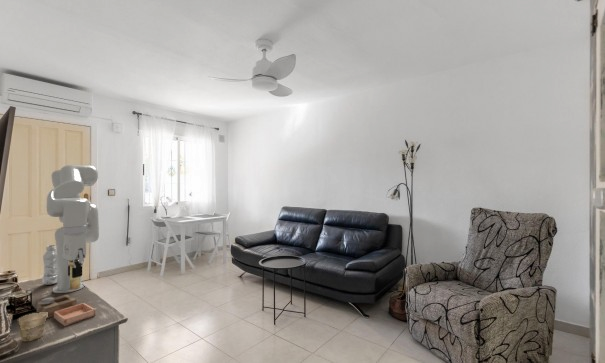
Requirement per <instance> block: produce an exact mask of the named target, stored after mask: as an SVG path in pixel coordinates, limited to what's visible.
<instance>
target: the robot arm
mask: <svg viewBox="0 0 605 363" xmlns="http://www.w3.org/2000/svg"><path fill="white" fill-rule="evenodd" d="M98 179H99V172H98V169H97V168H96V167H95V166H94V165H83V164H82V165H78V164H69V165H64V166H62V167H61V168H60V169H57V170H53V172H52V173H51V183H52V186H53V188H52V189H51V190H50V191H49V192H48V194H47V196H46V213H47V215H48V216H50V217H52V218H57V217H58V219H59V222H61V223H62V226H61V227H58V228H57V229H56V230H55V232H54V240H55V245H56V251H57V283H56V286H55V287H53V288H52V292H53V293H54V294H68V293H73V292H76V291H79V290H81V289H84V288H85V287H86V282H84V281H82V276H83V266H84V265H83V264H84V262H85V258H86V257H87V244H88V243H89V244H90V243H95V242H97V241H98V240H99V237H100V226H99V225H100V224H99V223H100V222H99V221H100V220H99V211H98V207H97V206H96V204H94V203H93V204H92V203H91V201H90V200H89V199H88V198H86V197H81V196H80V194H81V193H83V192H84V190H85V187H92V186H94V185H95V184H96V183H97V182H98ZM69 261H73V268H72V278H76V277H80V288H79V289H75V290H70V265H68V262H69ZM76 261H77V262H76ZM82 284H83V285H84V286H85V287H84V286H83V285H82Z"/></svg>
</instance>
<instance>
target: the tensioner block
mask: <svg viewBox="0 0 605 363" xmlns="http://www.w3.org/2000/svg"><path fill="white" fill-rule="evenodd" d="M75 305H77V299H76V298H74V297H73V296H71V295H69V294H68V293H65V294H64V295H60V296H56V297H53V296H52V297H51V296H50V297H45V298H43V299H41V300H40V301H37V304H36V306H37V307H36V309H37V310H36V312H37V313H38V312H48V317H47V318H46V319H49V318H52V317H53V318H54V312H55V311H58V310H62V309H65V308H68V307H71V306H75Z"/></svg>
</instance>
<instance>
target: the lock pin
mask: <svg viewBox="0 0 605 363" xmlns="http://www.w3.org/2000/svg"><path fill="white" fill-rule="evenodd" d="M76 262H77V261H76ZM68 265H70V290H75V289H79V288H80V277H76V278H72V268H73V261H69V262H68ZM79 290H80V289H79Z"/></svg>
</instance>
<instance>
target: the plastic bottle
mask: <svg viewBox="0 0 605 363" xmlns="http://www.w3.org/2000/svg"><path fill="white" fill-rule="evenodd" d="M45 250H46V252H45V253H44V254H43V256H42V262H43V276H42V284H43V285H44V286H48V285H55V284H57V246H56V244H51V245H47V246H46V249H45Z"/></svg>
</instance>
